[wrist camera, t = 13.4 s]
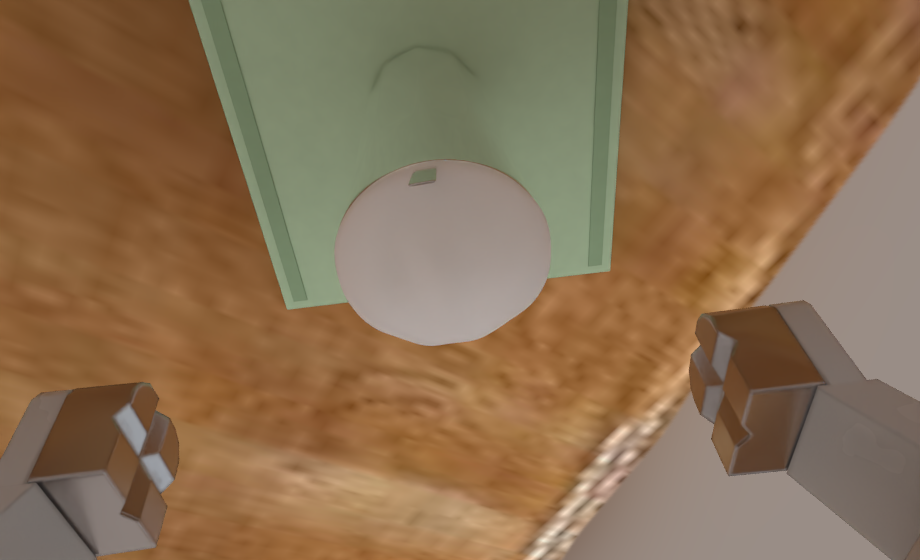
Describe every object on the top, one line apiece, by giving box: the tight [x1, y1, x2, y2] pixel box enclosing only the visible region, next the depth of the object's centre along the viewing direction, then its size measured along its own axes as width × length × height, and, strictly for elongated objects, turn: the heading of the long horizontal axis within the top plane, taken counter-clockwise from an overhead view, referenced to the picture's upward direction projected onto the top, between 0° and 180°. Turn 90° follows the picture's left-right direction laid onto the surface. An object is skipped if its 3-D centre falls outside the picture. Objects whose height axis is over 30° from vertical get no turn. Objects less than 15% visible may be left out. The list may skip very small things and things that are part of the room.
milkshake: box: [334, 47, 551, 346], centre depth 17 cm, size 4×5×10 cm
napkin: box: [189, 0, 628, 309], centre depth 21 cm, size 16×12×1 cm
